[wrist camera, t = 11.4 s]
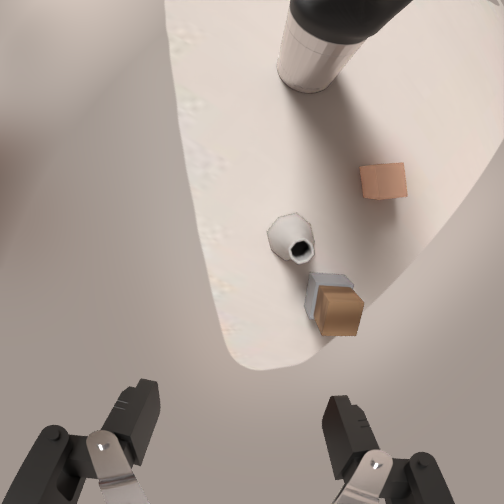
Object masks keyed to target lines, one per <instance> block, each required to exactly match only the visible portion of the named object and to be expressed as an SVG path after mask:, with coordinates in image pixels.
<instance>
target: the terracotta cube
mask: <svg viewBox="0 0 504 504" xmlns="http://www.w3.org/2000/svg"><path fill="white" fill-rule="evenodd" d="M359 169H360V175H361V182H362V190H363V197H364V198H369V199H376V200H383V199H390V198H399V197H407V196H408V195H407V186H406V178H405V170H404V163H389V164H376V165H368V166H361V167H359Z"/></svg>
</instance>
